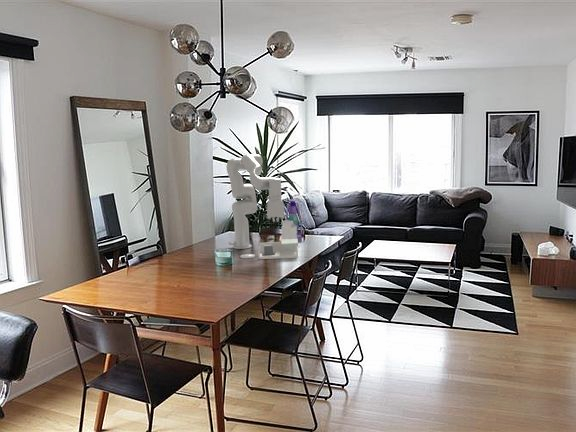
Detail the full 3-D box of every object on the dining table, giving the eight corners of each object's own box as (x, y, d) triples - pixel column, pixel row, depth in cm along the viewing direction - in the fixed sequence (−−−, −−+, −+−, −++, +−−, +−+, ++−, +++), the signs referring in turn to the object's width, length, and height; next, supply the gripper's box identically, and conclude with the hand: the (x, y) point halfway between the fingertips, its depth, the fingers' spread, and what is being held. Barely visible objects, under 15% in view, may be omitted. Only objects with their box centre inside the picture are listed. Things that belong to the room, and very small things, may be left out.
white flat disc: (239, 258, 348) (239, 257, 347) (241, 255, 356) (241, 254, 356) (254, 258, 347) (254, 256, 347) (255, 255, 356) (255, 253, 356)
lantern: (289, 243, 391) (288, 200, 387) (281, 241, 401) (280, 199, 397) (306, 241, 397) (304, 198, 393) (298, 239, 407) (296, 197, 403)
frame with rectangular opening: (258, 259, 344) (257, 247, 343) (259, 254, 359) (259, 242, 358) (298, 257, 344) (297, 245, 343) (297, 252, 359) (297, 241, 358)
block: (264, 257, 349) (264, 246, 348) (264, 255, 354) (264, 244, 353) (272, 257, 349) (272, 245, 348) (272, 255, 354) (272, 244, 353)
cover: (279, 246, 343) (279, 240, 343) (280, 241, 358) (280, 236, 358) (298, 245, 343) (297, 239, 343) (297, 240, 358) (297, 235, 358)
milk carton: (290, 250, 366) (289, 221, 364) (282, 249, 370) (281, 221, 368) (297, 248, 372) (296, 220, 369) (288, 248, 376) (287, 219, 373)
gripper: (262, 199, 343) (263, 229, 346) (287, 198, 343) (288, 228, 346) (263, 197, 351) (264, 227, 354) (287, 197, 351) (288, 226, 353)
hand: (276, 227), depth 350 cm, fingers closed
